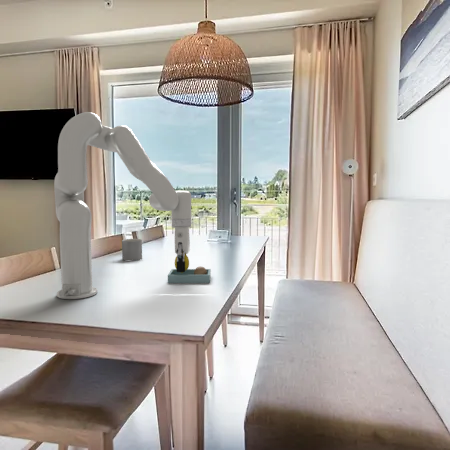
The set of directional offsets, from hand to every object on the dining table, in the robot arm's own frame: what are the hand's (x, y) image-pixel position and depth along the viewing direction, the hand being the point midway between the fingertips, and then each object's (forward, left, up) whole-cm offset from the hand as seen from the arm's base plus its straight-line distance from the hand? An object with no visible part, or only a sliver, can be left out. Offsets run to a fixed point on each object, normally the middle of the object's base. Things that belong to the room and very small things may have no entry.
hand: (181, 269), depth 142 cm
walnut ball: (0, -7, -4) cm, 8 cm away
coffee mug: (+50, +31, -5) cm, 59 cm away
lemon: (0, 0, -1) cm, 1 cm away
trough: (0, -3, -4) cm, 5 cm away
